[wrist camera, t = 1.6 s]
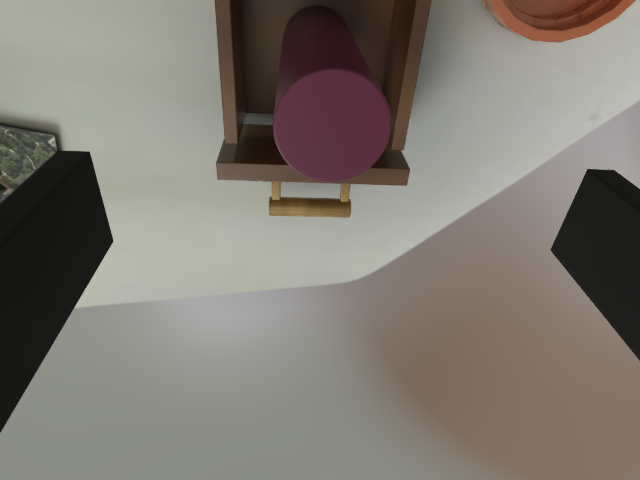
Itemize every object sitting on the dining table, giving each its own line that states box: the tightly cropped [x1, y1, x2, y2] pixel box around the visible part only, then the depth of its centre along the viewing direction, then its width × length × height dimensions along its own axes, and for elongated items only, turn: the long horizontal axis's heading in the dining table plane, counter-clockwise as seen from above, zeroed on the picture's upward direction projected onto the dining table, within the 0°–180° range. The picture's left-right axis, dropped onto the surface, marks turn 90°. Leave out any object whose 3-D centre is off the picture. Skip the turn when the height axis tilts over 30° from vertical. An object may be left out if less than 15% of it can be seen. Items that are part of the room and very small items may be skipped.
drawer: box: [215, 0, 431, 218], centre depth 27 cm, size 20×12×7 cm, turn 177°
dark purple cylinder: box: [273, 6, 391, 182], centre depth 22 cm, size 4×4×15 cm
